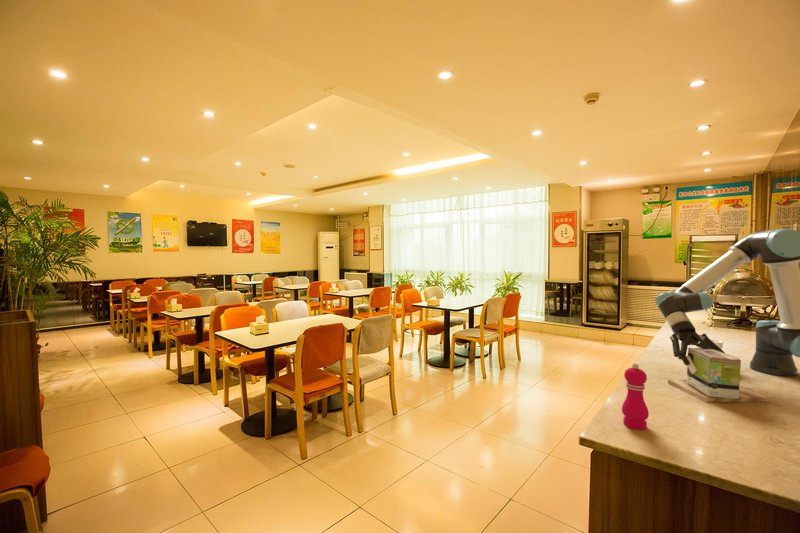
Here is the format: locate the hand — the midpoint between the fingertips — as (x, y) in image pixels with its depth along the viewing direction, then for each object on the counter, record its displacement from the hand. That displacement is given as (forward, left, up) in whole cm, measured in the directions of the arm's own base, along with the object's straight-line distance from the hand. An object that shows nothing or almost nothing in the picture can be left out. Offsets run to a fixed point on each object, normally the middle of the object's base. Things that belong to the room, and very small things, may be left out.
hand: (710, 372), depth 139 cm
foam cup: (-25, -30, -9) cm, 40 cm away
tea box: (+1, +1, -7) cm, 7 cm away
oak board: (-3, -2, -8) cm, 9 cm away
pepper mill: (+45, +25, -9) cm, 52 cm away
